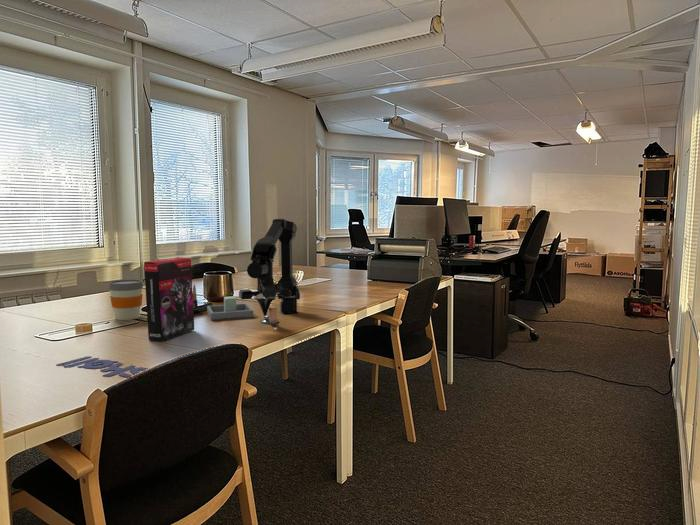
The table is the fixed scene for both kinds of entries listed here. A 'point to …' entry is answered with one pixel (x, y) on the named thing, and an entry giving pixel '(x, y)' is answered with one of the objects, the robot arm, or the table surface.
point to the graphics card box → (169, 298)
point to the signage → (103, 366)
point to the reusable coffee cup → (126, 298)
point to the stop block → (229, 304)
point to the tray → (219, 314)
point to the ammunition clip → (194, 297)
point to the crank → (271, 315)
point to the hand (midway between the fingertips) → (264, 315)
